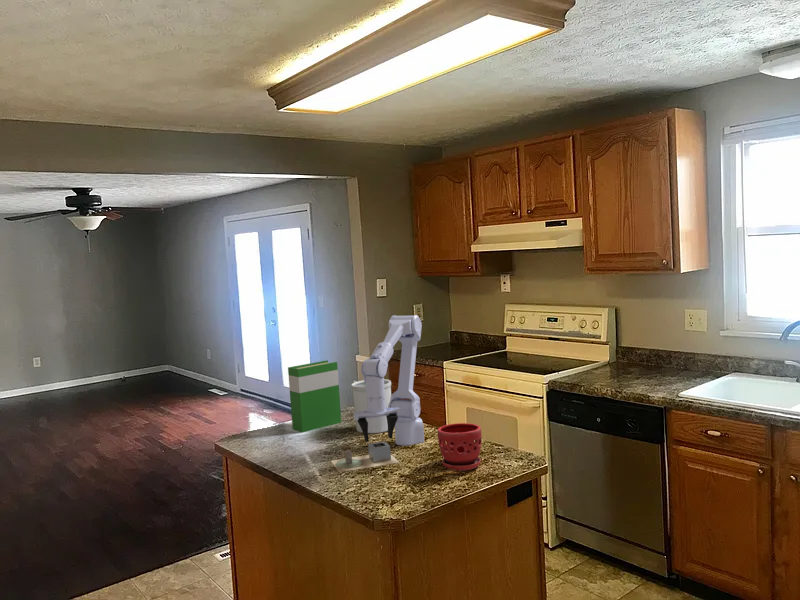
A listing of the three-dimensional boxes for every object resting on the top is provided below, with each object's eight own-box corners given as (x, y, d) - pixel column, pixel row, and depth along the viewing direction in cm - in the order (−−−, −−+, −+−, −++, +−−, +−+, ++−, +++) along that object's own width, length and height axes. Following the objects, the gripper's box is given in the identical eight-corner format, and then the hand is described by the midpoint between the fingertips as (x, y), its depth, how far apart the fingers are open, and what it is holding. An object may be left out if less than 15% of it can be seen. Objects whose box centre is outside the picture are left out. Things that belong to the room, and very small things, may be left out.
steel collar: (386, 455, 212) (385, 441, 212) (391, 460, 207) (390, 446, 207) (369, 457, 211) (368, 444, 210) (373, 463, 205) (372, 448, 205)
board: (388, 454, 216) (387, 438, 216) (399, 465, 205) (398, 448, 204) (331, 463, 210) (329, 446, 210) (339, 475, 199) (337, 457, 199)
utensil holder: (346, 430, 249) (343, 384, 248) (376, 421, 259) (373, 377, 258) (372, 436, 238) (368, 388, 237) (402, 427, 248) (399, 381, 247)
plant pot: (491, 464, 201) (489, 425, 200) (463, 476, 191) (461, 435, 191) (459, 456, 210) (456, 419, 209) (430, 467, 201) (428, 429, 200)
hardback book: (330, 419, 266) (326, 360, 265) (341, 422, 261) (337, 362, 259) (292, 429, 255) (287, 367, 254) (302, 432, 250) (297, 369, 248)
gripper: (356, 402, 201) (359, 446, 202) (401, 396, 206) (404, 439, 207) (351, 397, 208) (353, 440, 209) (395, 392, 212) (397, 433, 213)
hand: (378, 439), depth 208 cm, fingers open, 7 cm apart
